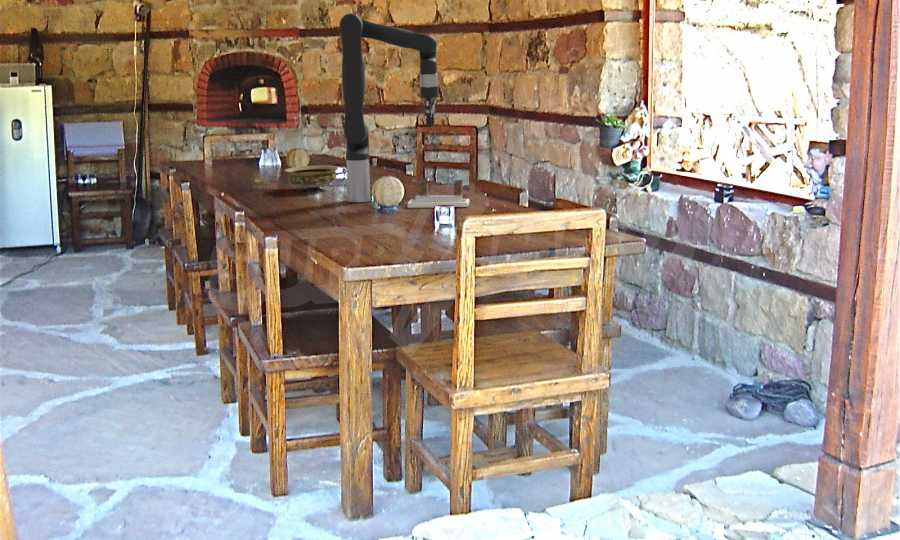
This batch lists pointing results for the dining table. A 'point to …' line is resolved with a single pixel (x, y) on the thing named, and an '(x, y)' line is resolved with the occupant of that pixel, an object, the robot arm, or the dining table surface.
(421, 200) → the rail
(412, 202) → the tray
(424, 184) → the rack
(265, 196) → the dining table surface
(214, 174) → the dining table surface
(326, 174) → the ceramic bowl
